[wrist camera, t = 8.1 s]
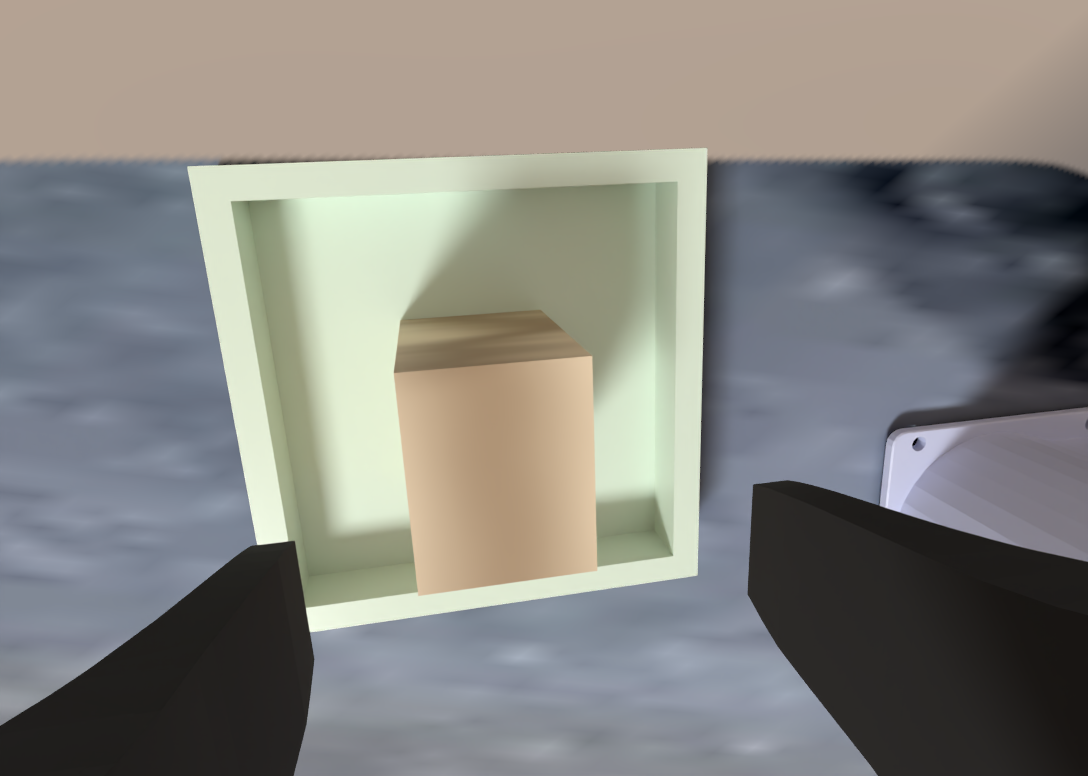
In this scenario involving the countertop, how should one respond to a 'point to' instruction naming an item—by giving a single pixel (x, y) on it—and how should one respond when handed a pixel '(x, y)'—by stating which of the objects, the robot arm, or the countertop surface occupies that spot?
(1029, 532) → the robot arm
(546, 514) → the block
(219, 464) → the countertop surface
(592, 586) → the tray
